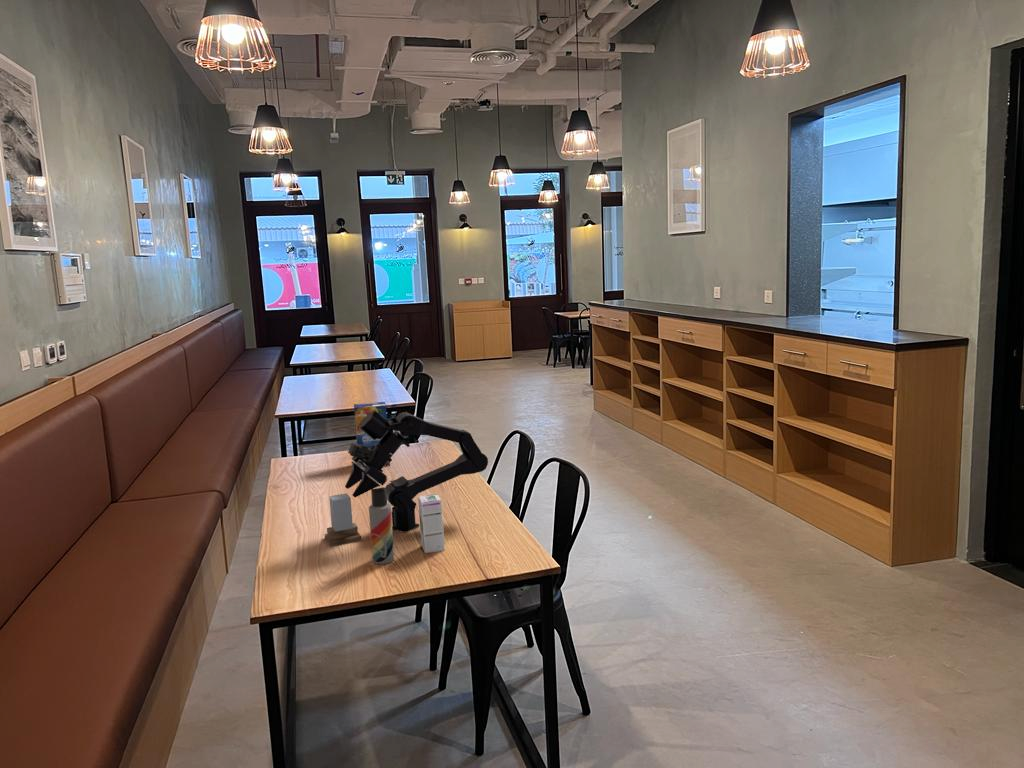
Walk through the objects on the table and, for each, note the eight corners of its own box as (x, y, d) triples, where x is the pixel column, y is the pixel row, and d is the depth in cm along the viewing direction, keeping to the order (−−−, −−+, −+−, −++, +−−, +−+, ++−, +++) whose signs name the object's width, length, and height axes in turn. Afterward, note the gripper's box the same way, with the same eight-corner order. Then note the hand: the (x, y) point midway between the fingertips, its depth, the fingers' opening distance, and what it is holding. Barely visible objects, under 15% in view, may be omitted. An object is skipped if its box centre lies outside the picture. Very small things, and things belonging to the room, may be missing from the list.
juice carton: (358, 468, 287) (354, 407, 283) (358, 463, 294) (353, 404, 290) (390, 465, 290) (386, 405, 286) (388, 460, 297) (384, 401, 293)
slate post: (348, 523, 217) (346, 493, 215) (352, 528, 212) (350, 498, 211) (331, 526, 215) (329, 496, 213) (335, 531, 210) (332, 500, 209)
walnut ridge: (355, 532, 219) (354, 520, 219) (361, 540, 213) (360, 528, 212) (324, 538, 215) (323, 526, 215) (329, 546, 209) (328, 534, 209)
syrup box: (445, 550, 203) (442, 499, 201) (423, 553, 201) (420, 502, 199) (441, 543, 208) (438, 493, 206) (420, 546, 207) (417, 496, 204)
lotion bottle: (375, 566, 194) (370, 492, 191) (370, 558, 199) (365, 486, 196) (396, 562, 196) (391, 489, 193) (391, 554, 202) (386, 483, 198)
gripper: (356, 426, 221) (321, 468, 218) (372, 439, 204) (335, 484, 201) (384, 448, 225) (350, 489, 223) (402, 462, 209) (366, 507, 206)
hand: (349, 492), depth 213 cm, fingers open, 9 cm apart
